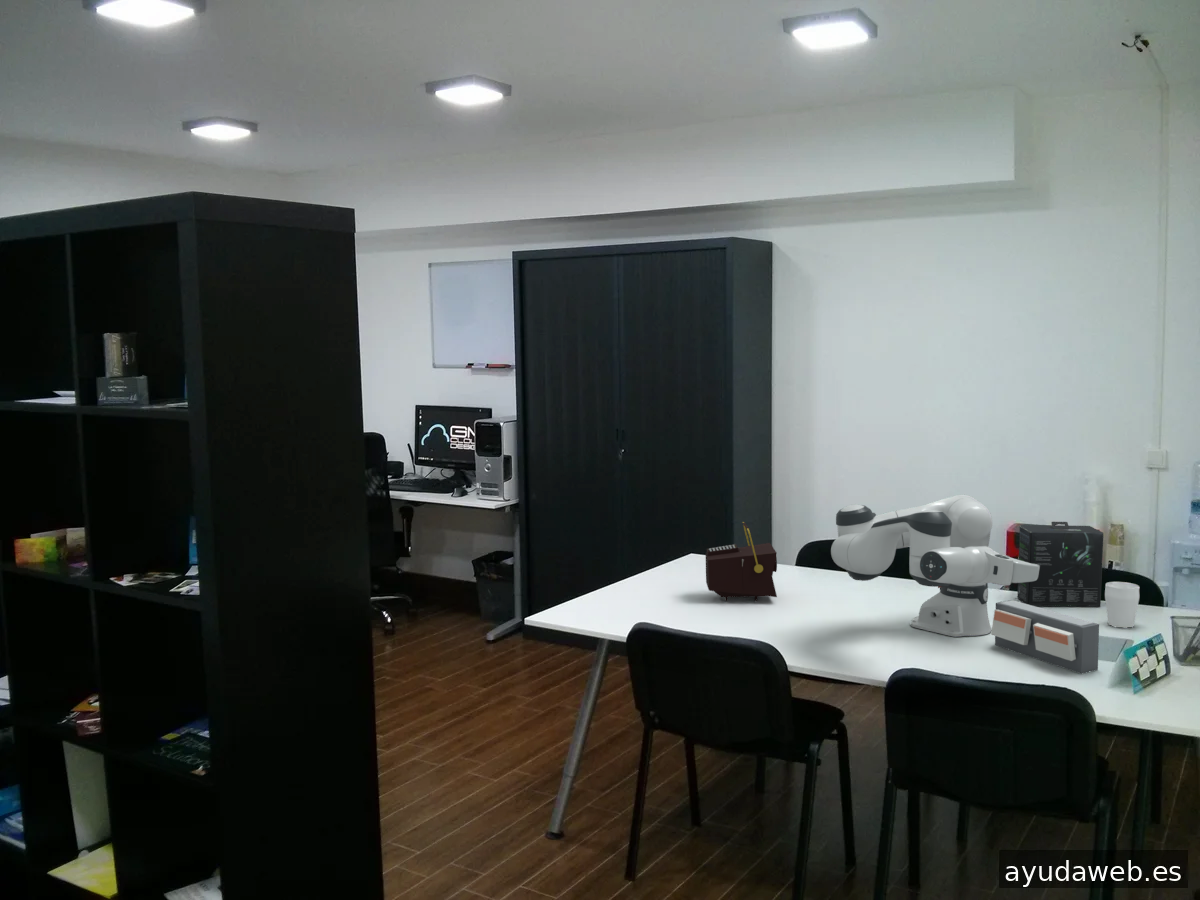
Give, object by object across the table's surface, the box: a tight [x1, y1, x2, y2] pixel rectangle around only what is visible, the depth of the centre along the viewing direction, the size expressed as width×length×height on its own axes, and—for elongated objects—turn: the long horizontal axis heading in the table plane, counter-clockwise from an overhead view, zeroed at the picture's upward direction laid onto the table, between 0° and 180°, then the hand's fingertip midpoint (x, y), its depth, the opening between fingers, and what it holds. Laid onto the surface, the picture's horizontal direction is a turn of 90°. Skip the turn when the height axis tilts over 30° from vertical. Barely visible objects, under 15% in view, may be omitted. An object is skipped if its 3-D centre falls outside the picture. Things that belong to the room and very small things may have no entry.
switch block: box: [994, 599, 1100, 675], centre depth 274 cm, size 12×28×12 cm, turn 26°
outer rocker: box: [1033, 623, 1077, 661], centre depth 264 cm, size 3×12×7 cm, turn 26°
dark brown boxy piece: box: [705, 521, 778, 602], centre depth 339 cm, size 16×23×25 cm
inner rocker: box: [990, 609, 1032, 645], centre depth 276 cm, size 3×12×7 cm, turn 26°
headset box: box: [1017, 521, 1104, 608], centre depth 324 cm, size 22×12×26 cm, turn 84°
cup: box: [1104, 581, 1140, 629], centre depth 298 cm, size 9×9×12 cm
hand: (1022, 563), depth 256 cm, fingers open, 8 cm apart
